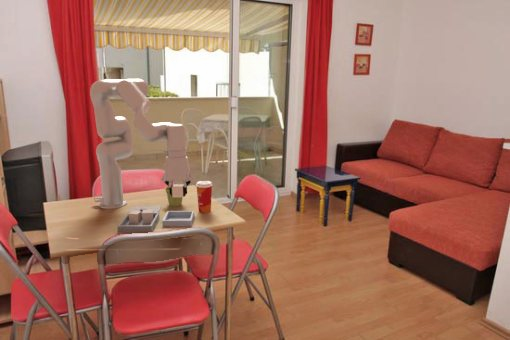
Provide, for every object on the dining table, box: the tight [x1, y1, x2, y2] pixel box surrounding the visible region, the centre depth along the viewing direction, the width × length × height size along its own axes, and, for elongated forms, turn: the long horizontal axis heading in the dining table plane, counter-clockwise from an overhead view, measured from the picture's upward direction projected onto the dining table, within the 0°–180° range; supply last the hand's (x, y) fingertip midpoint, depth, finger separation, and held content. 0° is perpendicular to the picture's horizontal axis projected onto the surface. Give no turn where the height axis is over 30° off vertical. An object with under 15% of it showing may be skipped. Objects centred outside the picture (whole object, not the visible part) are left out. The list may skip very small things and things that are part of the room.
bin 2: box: [161, 210, 195, 227], centre depth 174 cm, size 12×12×3 cm
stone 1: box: [129, 211, 142, 223], centre depth 173 cm, size 4×4×4 cm
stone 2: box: [142, 209, 154, 223], centre depth 173 cm, size 4×4×4 cm
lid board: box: [124, 205, 162, 217], centre depth 185 cm, size 14×14×2 cm
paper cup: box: [195, 180, 213, 214], centre depth 187 cm, size 8×8×14 cm
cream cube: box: [172, 183, 184, 198], centre depth 171 cm, size 4×4×4 cm
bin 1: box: [117, 212, 160, 233], centre depth 170 cm, size 14×16×3 cm
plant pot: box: [164, 186, 183, 207], centre depth 196 cm, size 9×9×9 cm
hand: (178, 195), depth 171 cm, fingers closed on cream cube, 4 cm apart
